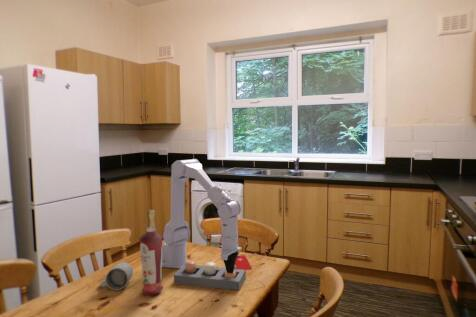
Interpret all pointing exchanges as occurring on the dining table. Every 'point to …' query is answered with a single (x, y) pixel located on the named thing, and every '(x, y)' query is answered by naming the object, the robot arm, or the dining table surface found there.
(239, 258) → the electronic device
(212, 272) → the white egg
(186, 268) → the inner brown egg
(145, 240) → the liquor
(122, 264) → the ceramic mug
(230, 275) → the light brown oval
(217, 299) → the dining table surface
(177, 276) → the grey egg tray
